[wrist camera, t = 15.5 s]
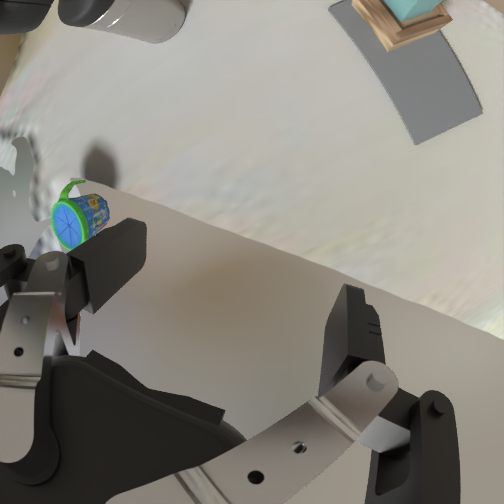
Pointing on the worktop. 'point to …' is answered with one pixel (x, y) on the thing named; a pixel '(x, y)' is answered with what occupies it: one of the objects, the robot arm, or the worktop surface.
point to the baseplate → (415, 77)
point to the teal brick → (411, 8)
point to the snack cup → (78, 217)
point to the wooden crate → (399, 23)
